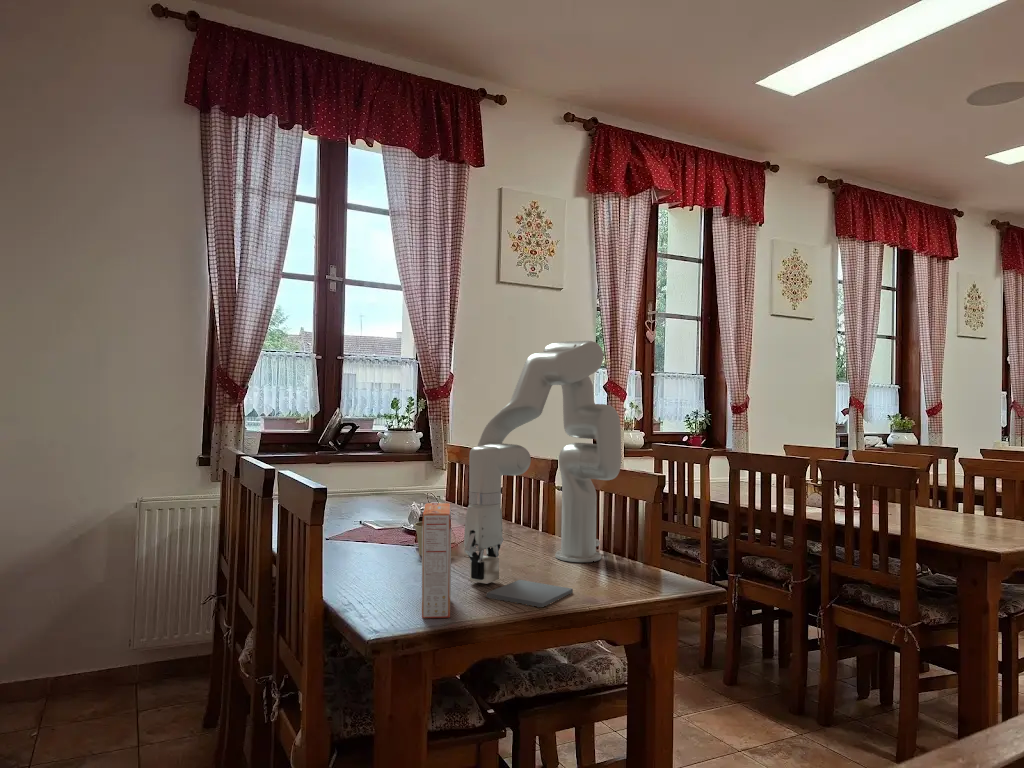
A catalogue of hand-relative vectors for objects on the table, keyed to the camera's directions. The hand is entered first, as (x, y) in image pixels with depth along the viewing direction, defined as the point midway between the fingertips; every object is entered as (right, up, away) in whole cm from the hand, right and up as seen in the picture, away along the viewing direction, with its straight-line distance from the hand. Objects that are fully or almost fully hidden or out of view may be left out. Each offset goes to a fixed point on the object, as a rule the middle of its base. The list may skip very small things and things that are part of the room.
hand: (484, 575), depth 170 cm
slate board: (+11, -2, -9) cm, 14 cm away
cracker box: (-9, -2, -21) cm, 23 cm away
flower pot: (-16, -2, +29) cm, 34 cm away
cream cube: (0, -1, 0) cm, 1 cm away
